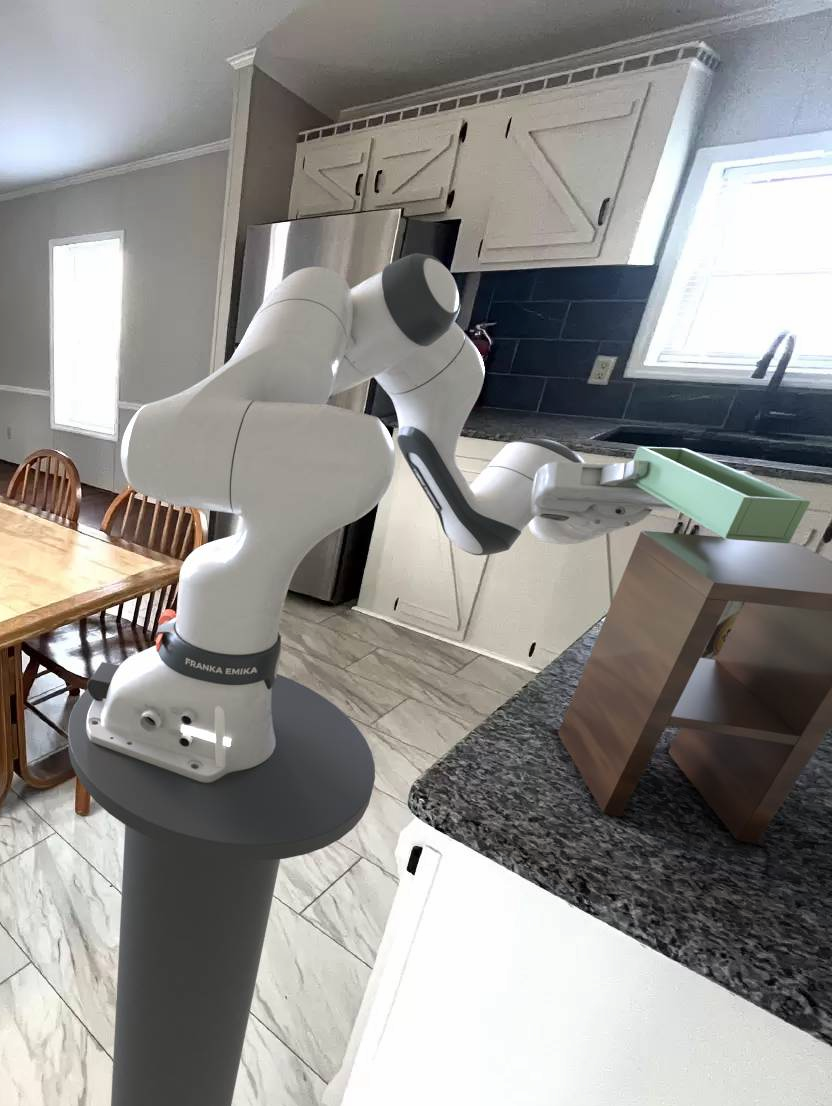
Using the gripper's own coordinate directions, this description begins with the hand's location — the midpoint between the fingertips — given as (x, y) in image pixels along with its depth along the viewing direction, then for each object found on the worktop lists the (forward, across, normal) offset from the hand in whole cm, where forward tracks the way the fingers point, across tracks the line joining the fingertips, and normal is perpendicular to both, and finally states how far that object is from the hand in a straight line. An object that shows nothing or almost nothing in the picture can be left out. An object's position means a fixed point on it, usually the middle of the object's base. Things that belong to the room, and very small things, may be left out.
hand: (673, 468), depth 72 cm
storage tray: (+5, 0, -6) cm, 7 cm away
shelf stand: (+2, 0, -36) cm, 36 cm away
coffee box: (-30, -19, -17) cm, 40 cm away
